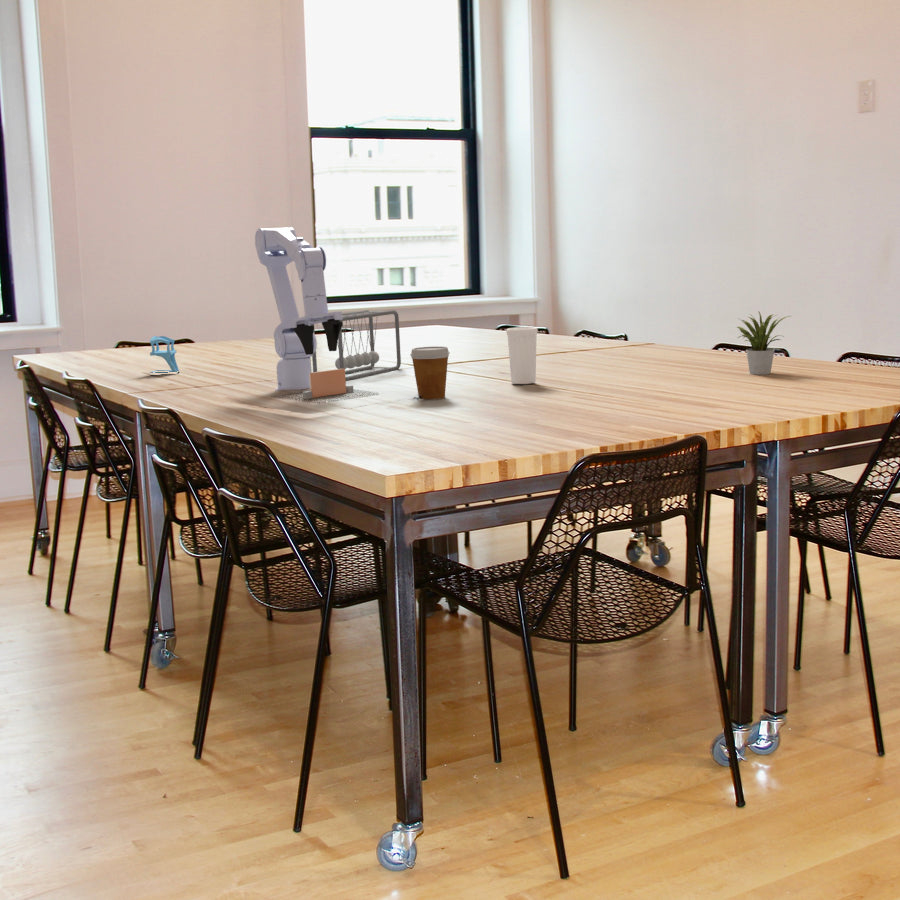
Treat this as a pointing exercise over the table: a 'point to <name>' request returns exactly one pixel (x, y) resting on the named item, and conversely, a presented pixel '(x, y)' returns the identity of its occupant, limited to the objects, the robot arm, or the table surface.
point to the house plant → (759, 345)
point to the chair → (164, 352)
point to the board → (348, 389)
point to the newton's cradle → (364, 357)
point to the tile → (327, 382)
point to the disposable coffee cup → (430, 371)
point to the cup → (522, 354)
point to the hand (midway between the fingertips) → (321, 352)
